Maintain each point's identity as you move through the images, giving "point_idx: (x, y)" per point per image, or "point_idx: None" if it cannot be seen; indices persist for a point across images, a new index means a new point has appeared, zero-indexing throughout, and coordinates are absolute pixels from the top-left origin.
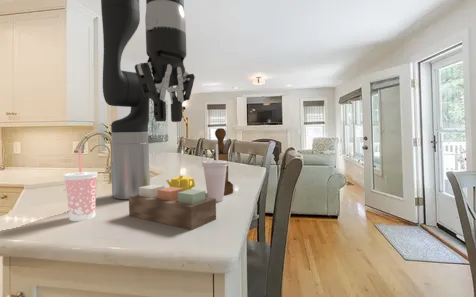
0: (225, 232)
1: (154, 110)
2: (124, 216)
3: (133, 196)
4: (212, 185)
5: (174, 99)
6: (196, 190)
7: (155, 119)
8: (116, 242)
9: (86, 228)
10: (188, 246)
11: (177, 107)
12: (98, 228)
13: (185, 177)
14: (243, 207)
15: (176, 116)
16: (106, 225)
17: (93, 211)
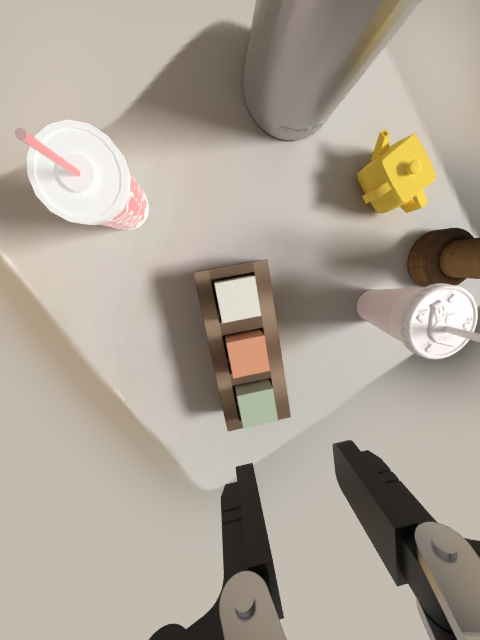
0: (248, 446)
1: (223, 527)
2: (187, 267)
3: (200, 281)
4: (376, 322)
5: (425, 586)
6: (271, 405)
7: (236, 468)
8: (127, 381)
9: (111, 286)
10: (187, 451)
11: (376, 545)
12: (127, 301)
13: (424, 170)
14: (356, 381)
15: (347, 489)
16: (143, 296)
17: (138, 223)
